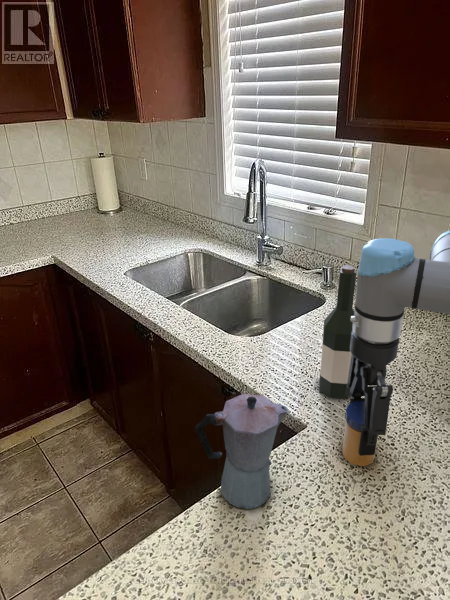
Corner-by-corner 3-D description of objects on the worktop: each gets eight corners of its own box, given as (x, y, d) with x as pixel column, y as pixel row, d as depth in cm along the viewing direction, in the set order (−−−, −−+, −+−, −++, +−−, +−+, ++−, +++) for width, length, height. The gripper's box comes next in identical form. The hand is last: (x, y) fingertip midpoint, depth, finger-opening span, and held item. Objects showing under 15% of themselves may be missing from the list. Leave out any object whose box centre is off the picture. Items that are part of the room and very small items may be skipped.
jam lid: (343, 428, 79) (344, 420, 79) (346, 405, 85) (347, 398, 84) (381, 435, 78) (382, 428, 77) (381, 411, 83) (383, 404, 82)
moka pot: (296, 500, 76) (301, 409, 67) (208, 525, 72) (202, 432, 63) (274, 459, 84) (277, 373, 75) (195, 480, 81) (187, 391, 72)
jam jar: (377, 448, 86) (383, 410, 82) (371, 470, 81) (377, 431, 77) (346, 438, 89) (350, 401, 84) (338, 459, 84) (342, 421, 80)
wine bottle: (326, 401, 99) (337, 277, 85) (312, 379, 106) (320, 262, 92) (361, 396, 100) (378, 272, 86) (345, 374, 107) (357, 257, 94)
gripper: (336, 307, 81) (327, 406, 92) (372, 369, 64) (356, 482, 75) (377, 305, 82) (363, 404, 92) (424, 366, 64) (400, 480, 75)
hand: (360, 439), depth 83 cm, fingers closed on jam lid, 6 cm apart
